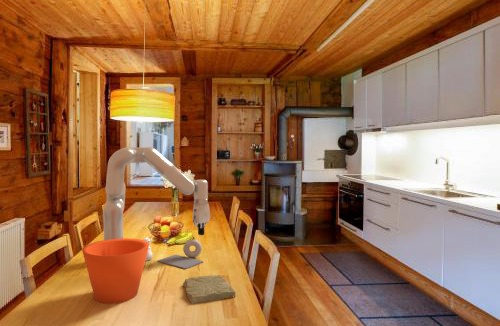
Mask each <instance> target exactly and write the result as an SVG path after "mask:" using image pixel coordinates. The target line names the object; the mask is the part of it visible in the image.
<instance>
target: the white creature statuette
mask: <svg viewBox="0 0 500 326" xmlns="http://www.w3.org/2000/svg"><path fill="white" fill-rule="evenodd" d="M142 240H144V241H146V242H148V243H149V247H148V251H147V255H146V260H145V262H149V261H151V260H152V259H153V258H154V256H153V255H154V253H153V251H152V248H151V246H150V244H151V242H152V241H153V238H152V237H151V238H149V237H147V236H146V237H144V238H142Z"/></svg>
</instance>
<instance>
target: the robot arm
mask: <svg viewBox="0 0 500 326" xmlns="http://www.w3.org/2000/svg"><path fill="white" fill-rule="evenodd" d="M108 159H109V160H108V162H107V170H106V179H105V181H106V183H105V188H104V189H105V194H106V200H105V204H104V206H103V209H102V220H103V221H102V222H103V240H109V239H121V238H124V210H125V206H126V205H125V204H126V202H125V201H126V188H127V187H126V183H125V170H126V166H127V165H128V164H137V163H139V164H142V163H146V164H147V165H149V166H150V167H151V168H153V170H155V171H156V172H157V173H158V174H159V175H160V176H161V177H163V178H164V179H165V180H166V181H168V182H169V183H170V184H172V186H174V187H175V188H176V189H177V190H179V191H180V193H182V194H183V195H186V196H188V195H189V196H190V195H192V194H193V209H192V223H193V226H194V227H196V228H197V234H198V236H204V235H205V228H206V224H208V223H209V221H211V213H210V211H211V210H210V205H209V203H208V202H209V201H208V200H209V197H208V196H209V195H208V194H209V191H208V190H209V188H208V184H209V183H208V181H207V180H206V179H194V180H193V179H189V178H188V177H186V175H184V174H183V173H182V172H181V171H180V170H179V169H178V168H177V167H176V166H175V165H174V163H172V162H171V161H170V160H169V159H167V157H165V156H164V155H163V154H162V153H161V152H159V150H157V149H156V148H155V147H151V146H149V147H148V146H147V147H122V148H121V149H118V150H117V151H115V152H114V153H113V154H112V155H111V156H110V157H109V158H108Z"/></svg>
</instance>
